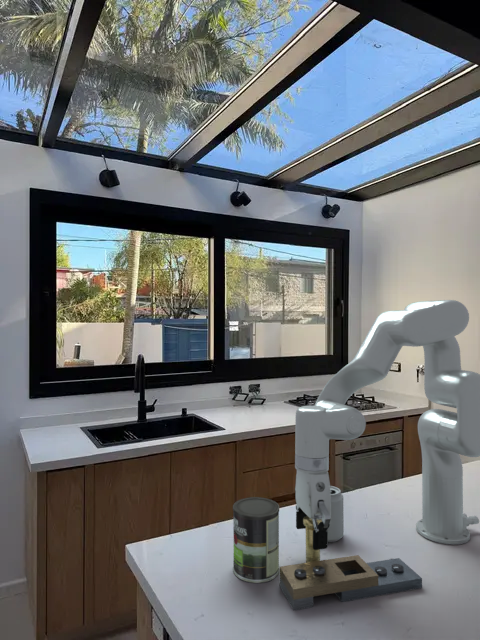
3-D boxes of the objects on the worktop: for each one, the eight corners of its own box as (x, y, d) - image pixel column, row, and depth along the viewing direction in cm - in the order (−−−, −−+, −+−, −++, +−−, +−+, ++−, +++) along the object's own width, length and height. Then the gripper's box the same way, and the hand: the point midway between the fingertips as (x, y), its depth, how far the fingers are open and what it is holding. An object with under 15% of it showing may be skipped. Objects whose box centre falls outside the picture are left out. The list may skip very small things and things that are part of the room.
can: (344, 544, 109) (343, 495, 109) (313, 542, 110) (312, 493, 110) (343, 530, 116) (342, 484, 116) (314, 528, 117) (313, 482, 117)
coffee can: (244, 588, 91) (244, 519, 91) (226, 563, 101) (225, 501, 101) (288, 576, 95) (288, 511, 95) (266, 553, 105) (266, 493, 105)
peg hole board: (399, 567, 99) (398, 546, 99) (422, 588, 91) (421, 565, 91) (279, 585, 92) (279, 563, 92) (293, 610, 84) (293, 586, 84)
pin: (317, 557, 103) (317, 514, 103) (325, 567, 99) (325, 522, 99) (300, 560, 102) (300, 516, 102) (307, 570, 98) (307, 524, 98)
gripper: (345, 473, 93) (344, 555, 92) (311, 450, 109) (311, 519, 109) (311, 475, 91) (310, 559, 91) (283, 451, 108) (282, 522, 107)
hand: (311, 537), depth 100 cm, fingers open, 9 cm apart
